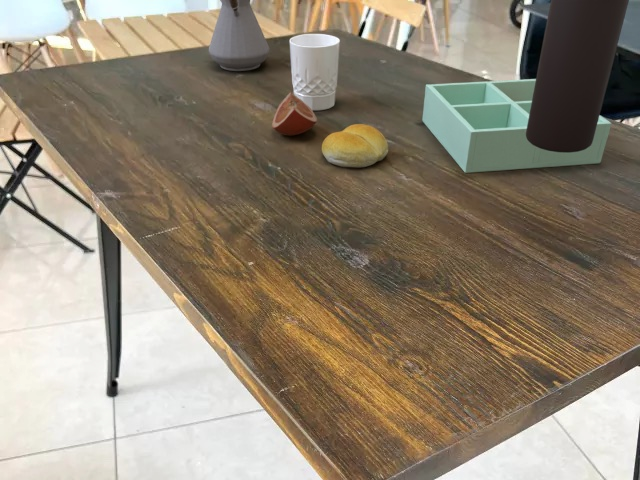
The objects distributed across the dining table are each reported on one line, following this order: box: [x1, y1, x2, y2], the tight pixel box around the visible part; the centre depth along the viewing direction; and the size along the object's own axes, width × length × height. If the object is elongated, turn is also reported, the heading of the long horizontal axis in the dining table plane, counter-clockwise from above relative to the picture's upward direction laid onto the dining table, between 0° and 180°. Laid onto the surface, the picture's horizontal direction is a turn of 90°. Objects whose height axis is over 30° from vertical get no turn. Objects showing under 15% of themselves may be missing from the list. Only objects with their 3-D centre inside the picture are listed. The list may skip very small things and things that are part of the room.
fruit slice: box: [271, 91, 318, 136], centre depth 95 cm, size 8×7×5 cm
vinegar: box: [526, 0, 630, 153], centre depth 62 cm, size 7×7×20 cm
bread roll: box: [321, 123, 389, 168], centre depth 88 cm, size 8×9×4 cm
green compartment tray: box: [421, 78, 613, 174], centre depth 93 cm, size 19×19×6 cm
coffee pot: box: [208, 0, 271, 72], centre depth 116 cm, size 21×12×15 cm, turn 4°
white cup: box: [289, 33, 341, 112], centre depth 104 cm, size 8×8×10 cm
